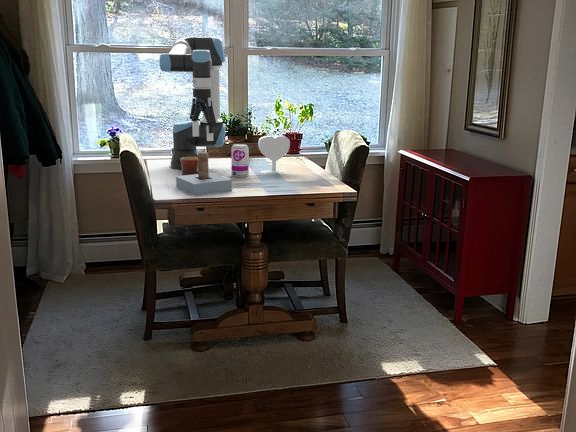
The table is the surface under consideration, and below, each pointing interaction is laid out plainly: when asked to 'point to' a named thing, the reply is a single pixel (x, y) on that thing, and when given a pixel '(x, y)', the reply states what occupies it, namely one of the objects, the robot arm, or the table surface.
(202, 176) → the walnut peg
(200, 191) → the socket block
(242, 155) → the supplement can
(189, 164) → the mug
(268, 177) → the table surface
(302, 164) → the table surface
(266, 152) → the heart sculpture
